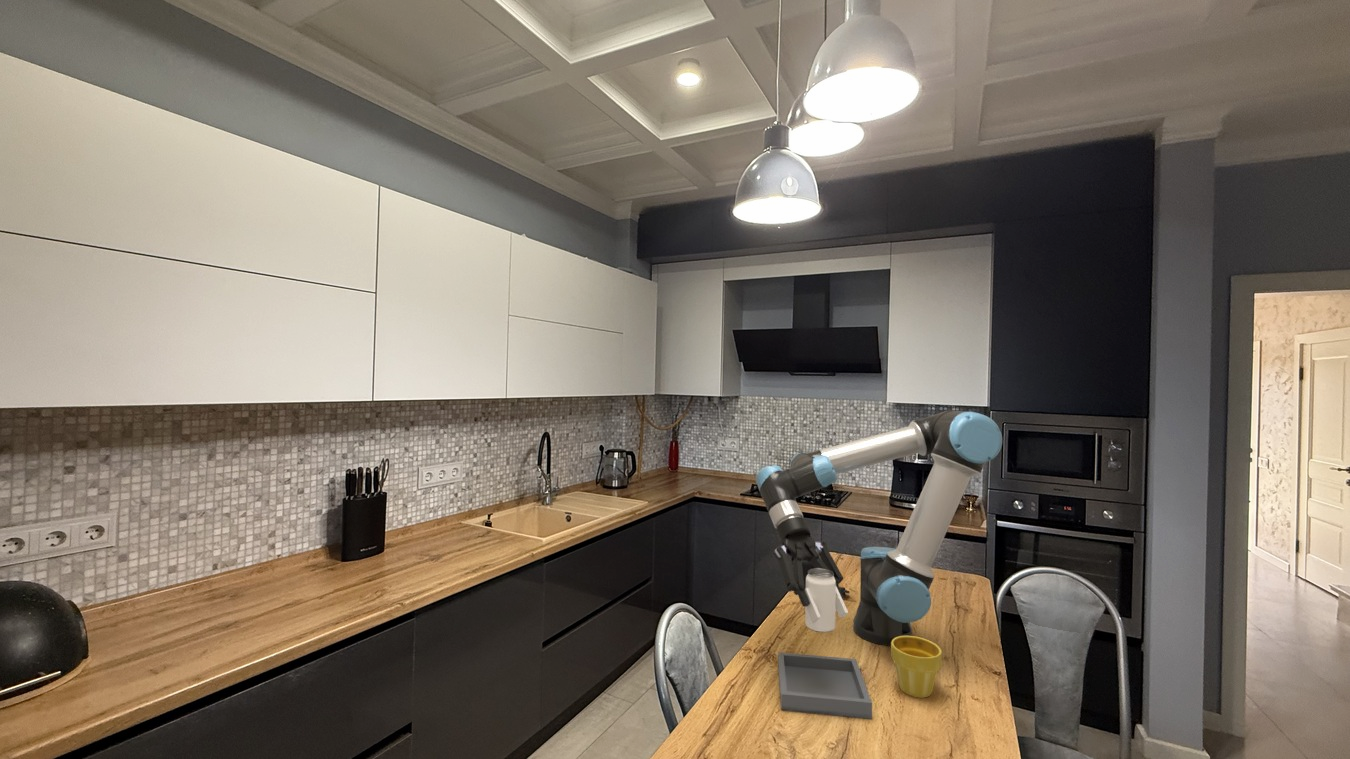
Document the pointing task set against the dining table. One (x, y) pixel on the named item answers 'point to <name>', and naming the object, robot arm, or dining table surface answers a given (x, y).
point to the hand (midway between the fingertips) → (830, 617)
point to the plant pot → (916, 664)
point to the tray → (823, 686)
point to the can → (822, 599)
